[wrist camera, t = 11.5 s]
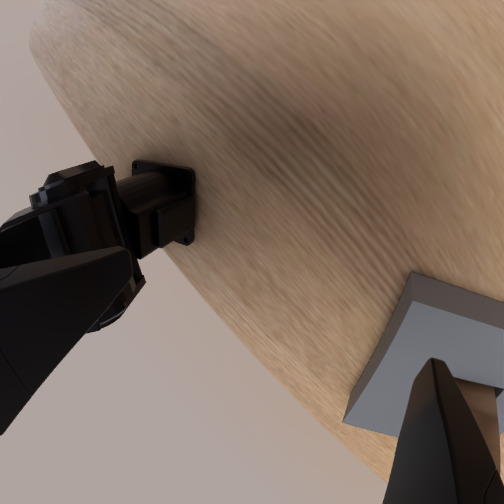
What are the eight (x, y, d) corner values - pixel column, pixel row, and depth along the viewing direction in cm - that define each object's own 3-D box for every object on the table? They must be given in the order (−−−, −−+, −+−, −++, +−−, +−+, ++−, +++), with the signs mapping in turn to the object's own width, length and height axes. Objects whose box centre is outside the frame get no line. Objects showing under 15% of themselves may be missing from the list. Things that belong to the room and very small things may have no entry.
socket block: (350, 393, 25) (342, 422, 22) (411, 271, 18) (412, 300, 15) (480, 424, 20) (480, 450, 17) (561, 324, 13) (574, 352, 10)
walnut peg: (427, 372, 21) (413, 502, 11) (444, 348, 19) (441, 488, 9) (471, 383, 19) (471, 505, 9) (489, 360, 18) (499, 489, 8)
